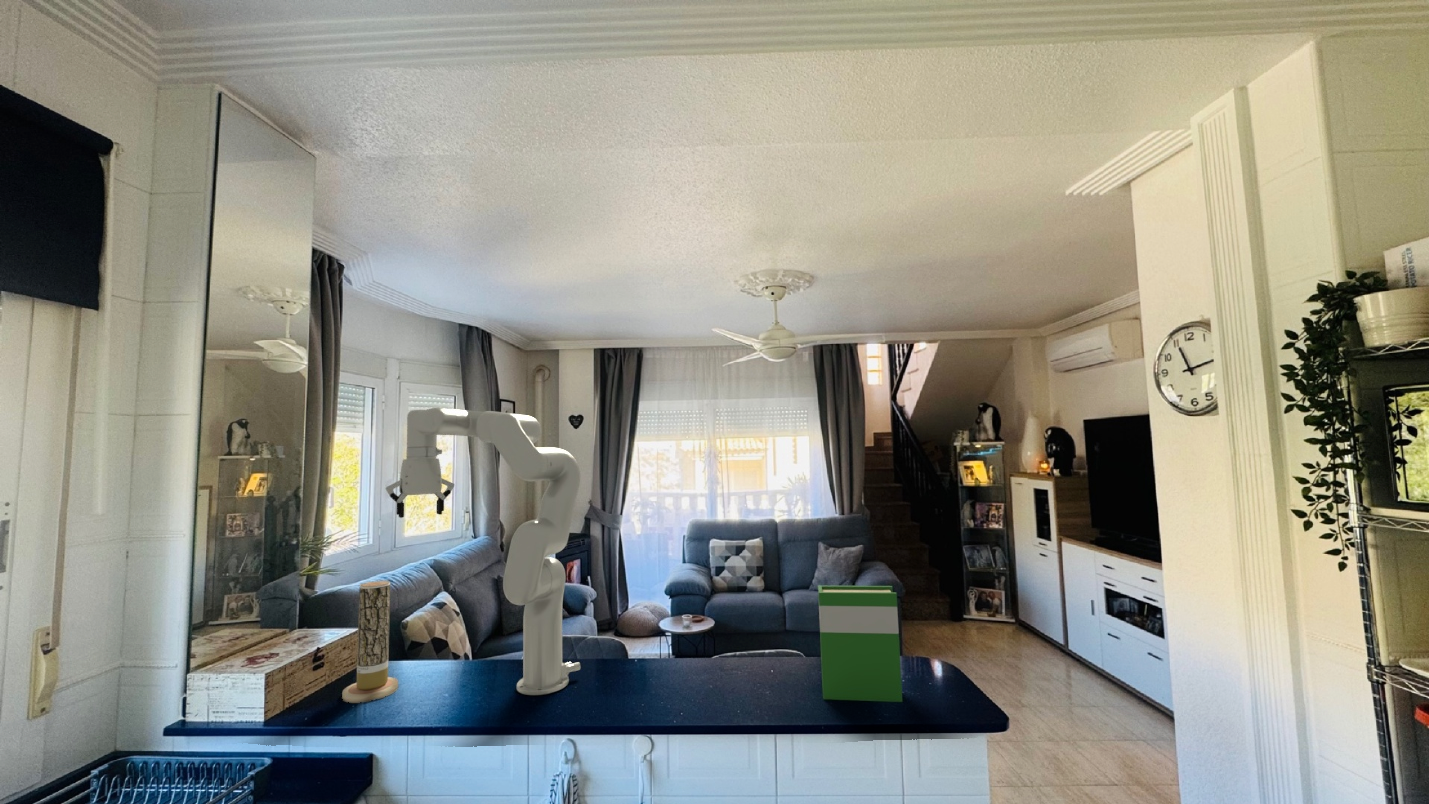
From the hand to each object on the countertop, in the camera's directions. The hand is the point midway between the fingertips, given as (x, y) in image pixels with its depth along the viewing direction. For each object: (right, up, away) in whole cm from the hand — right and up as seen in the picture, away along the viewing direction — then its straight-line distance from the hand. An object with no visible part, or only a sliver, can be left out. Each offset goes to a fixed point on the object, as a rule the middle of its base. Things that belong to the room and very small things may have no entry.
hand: (420, 515), depth 161 cm
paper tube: (-4, -40, -16) cm, 43 cm away
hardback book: (+116, -37, -25) cm, 125 cm away
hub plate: (-4, -41, -16) cm, 44 cm away
